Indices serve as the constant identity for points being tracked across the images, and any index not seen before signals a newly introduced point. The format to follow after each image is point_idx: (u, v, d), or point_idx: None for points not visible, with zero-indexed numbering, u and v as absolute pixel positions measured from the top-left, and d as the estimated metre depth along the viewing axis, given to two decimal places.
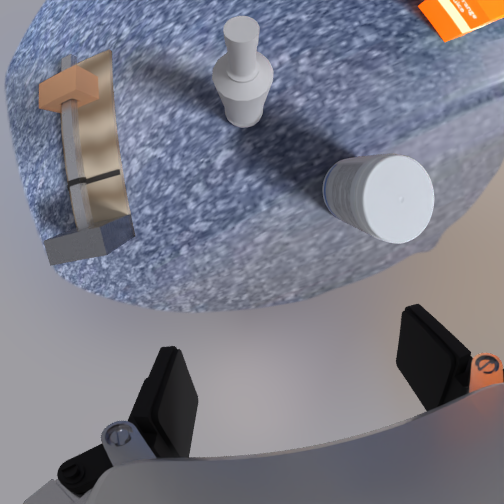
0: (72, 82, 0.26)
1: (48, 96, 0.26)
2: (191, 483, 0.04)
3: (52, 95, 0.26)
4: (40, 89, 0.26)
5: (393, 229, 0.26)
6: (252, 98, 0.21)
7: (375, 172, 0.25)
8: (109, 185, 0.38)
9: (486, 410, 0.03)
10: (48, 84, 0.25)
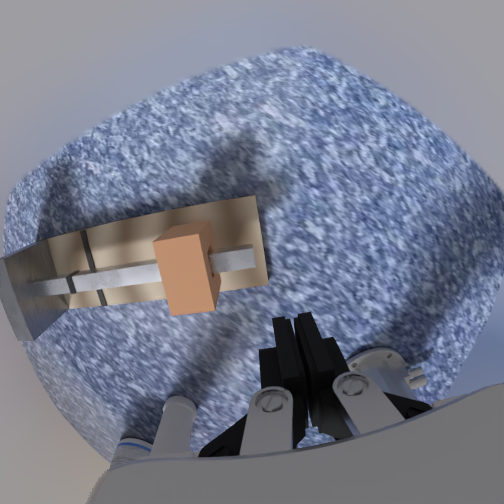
0: (184, 308, 0.24)
1: (169, 262, 0.23)
2: (191, 483, 0.04)
3: (169, 271, 0.23)
4: (186, 239, 0.22)
5: None
6: None
7: None
8: (90, 291, 0.32)
9: (486, 410, 0.03)
10: (191, 258, 0.23)
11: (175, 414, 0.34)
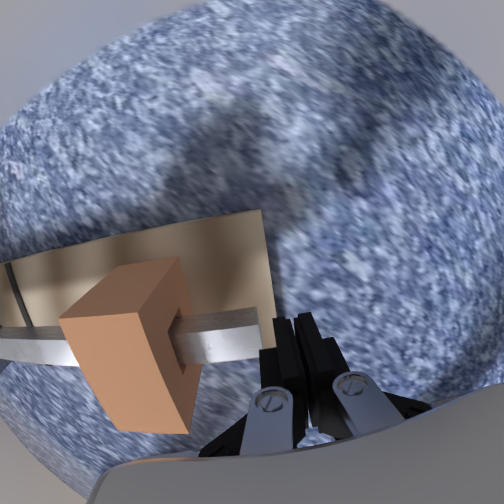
0: (135, 424, 0.11)
1: (92, 357, 0.10)
2: (191, 483, 0.04)
3: (96, 371, 0.10)
4: (115, 321, 0.09)
5: None
6: None
7: None
8: None
9: (486, 410, 0.03)
10: (131, 357, 0.10)
11: None
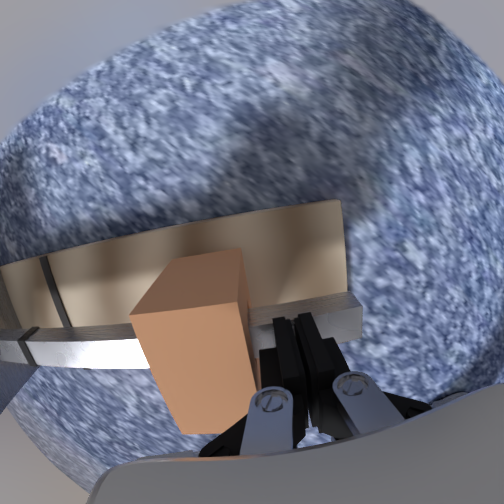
0: (206, 426, 0.11)
1: (169, 356, 0.10)
2: (191, 483, 0.04)
3: (171, 371, 0.10)
4: (207, 314, 0.09)
5: None
6: None
7: None
8: None
9: (486, 410, 0.03)
10: (220, 351, 0.10)
11: None
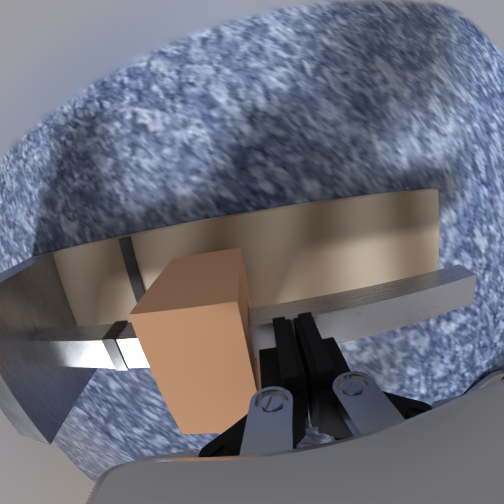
0: (206, 425, 0.11)
1: (169, 356, 0.10)
2: (191, 483, 0.04)
3: (171, 371, 0.10)
4: (208, 313, 0.09)
5: None
6: None
7: None
8: None
9: (486, 410, 0.03)
10: (220, 351, 0.10)
11: None
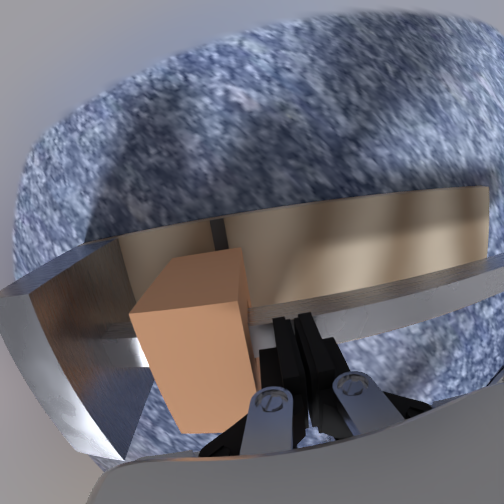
0: (205, 425, 0.11)
1: (169, 355, 0.10)
2: (191, 483, 0.04)
3: (171, 370, 0.10)
4: (208, 313, 0.09)
5: None
6: None
7: None
8: None
9: (486, 410, 0.03)
10: (220, 351, 0.10)
11: None
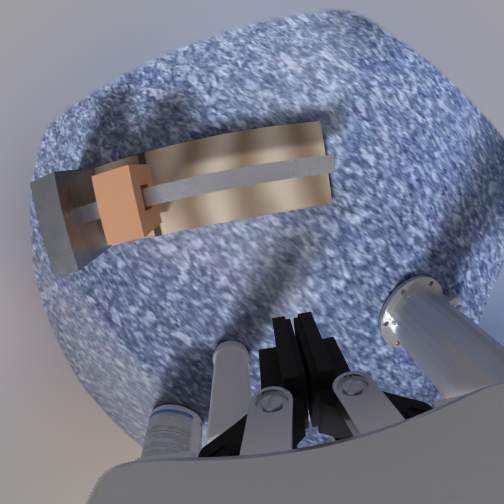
0: (118, 236, 0.25)
1: (104, 193, 0.23)
2: (191, 483, 0.04)
3: (104, 201, 0.23)
4: (118, 171, 0.23)
5: None
6: None
7: None
8: None
9: (486, 410, 0.03)
10: (122, 187, 0.23)
11: (231, 358, 0.35)
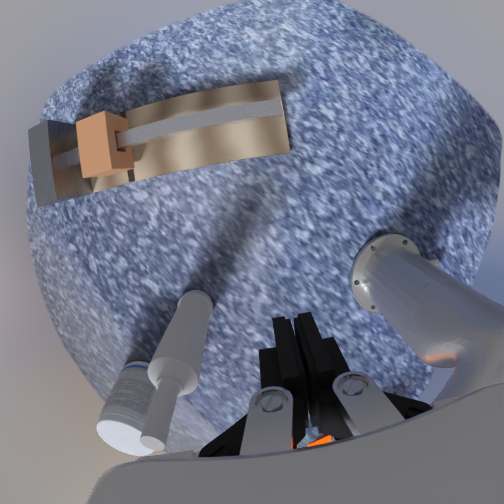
0: (91, 170, 0.27)
1: (84, 134, 0.25)
2: (191, 483, 0.04)
3: (84, 141, 0.26)
4: (96, 116, 0.25)
5: (105, 433, 0.31)
6: (151, 381, 0.25)
7: (134, 429, 0.30)
8: None
9: (486, 410, 0.03)
10: (98, 129, 0.25)
11: (192, 302, 0.36)
